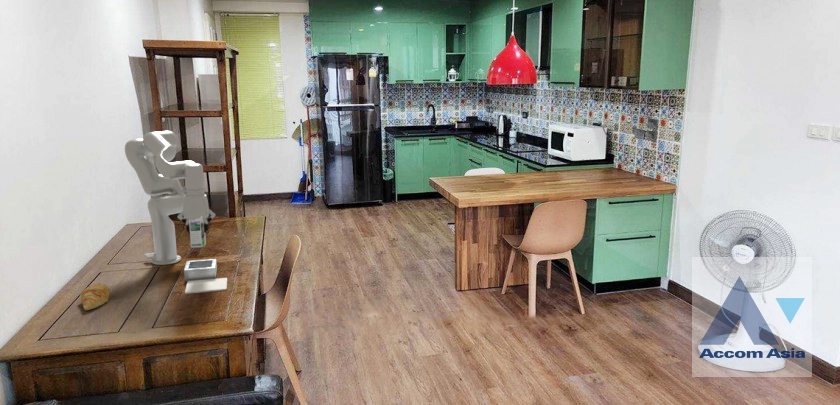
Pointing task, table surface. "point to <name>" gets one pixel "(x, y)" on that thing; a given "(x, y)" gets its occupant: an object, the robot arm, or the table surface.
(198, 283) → the mat
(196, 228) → the syrup box
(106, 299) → the croissant
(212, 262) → the gray rectangular frame
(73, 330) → the table surface
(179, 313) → the table surface
